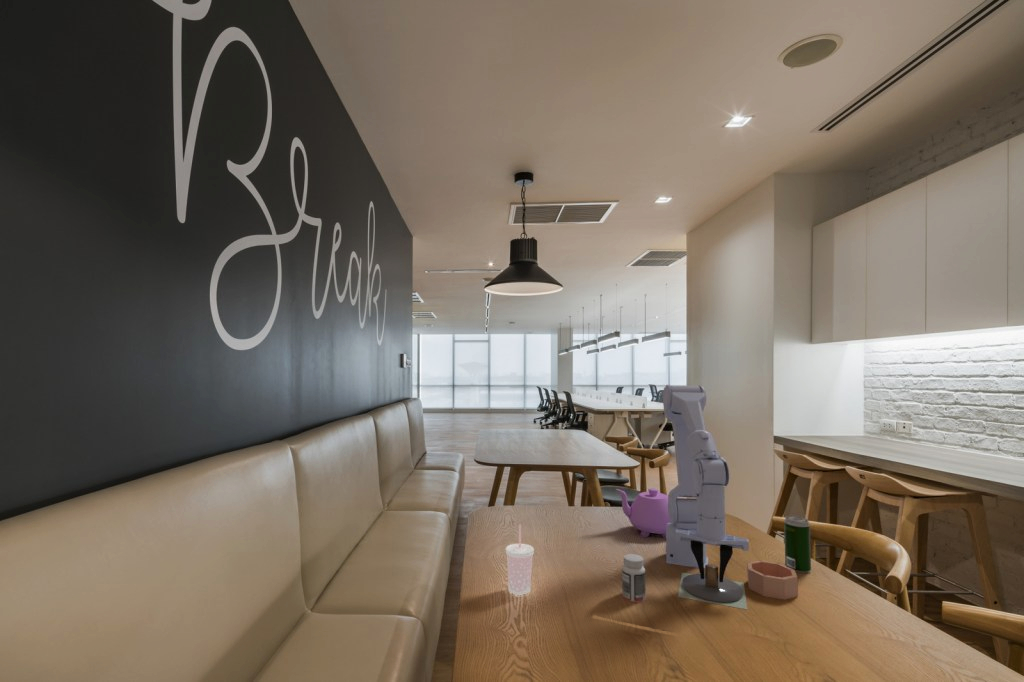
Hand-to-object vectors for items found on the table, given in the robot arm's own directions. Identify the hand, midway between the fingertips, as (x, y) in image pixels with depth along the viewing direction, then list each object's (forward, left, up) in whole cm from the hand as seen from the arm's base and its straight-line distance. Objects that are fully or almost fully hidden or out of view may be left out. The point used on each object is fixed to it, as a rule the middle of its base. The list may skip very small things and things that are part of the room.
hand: (711, 578), depth 103 cm
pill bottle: (-15, -10, -3) cm, 18 cm away
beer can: (+19, +21, -3) cm, 28 cm away
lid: (0, 0, -2) cm, 2 cm away
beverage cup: (-38, -17, -3) cm, 42 cm away
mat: (0, 0, -3) cm, 3 cm away
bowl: (+12, +6, -3) cm, 14 cm away
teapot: (-17, +34, -3) cm, 38 cm away
